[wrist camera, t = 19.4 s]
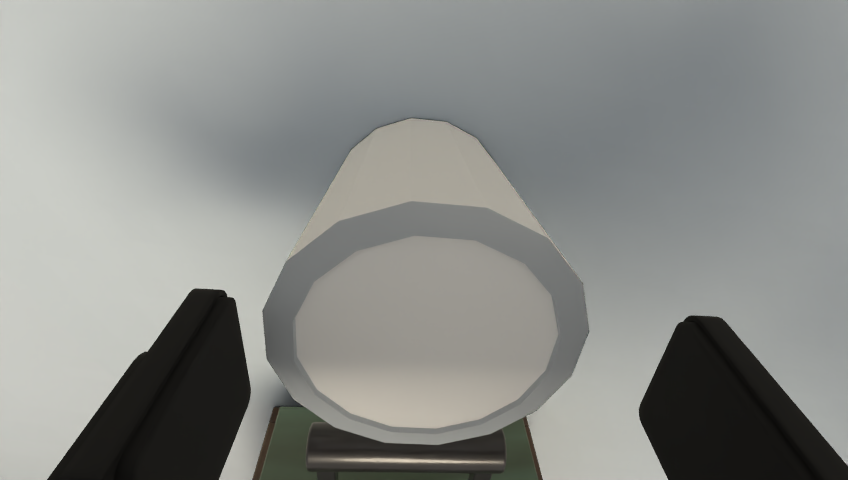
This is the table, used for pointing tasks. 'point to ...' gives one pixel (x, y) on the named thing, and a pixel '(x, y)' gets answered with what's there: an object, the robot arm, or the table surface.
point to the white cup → (424, 295)
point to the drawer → (390, 454)
